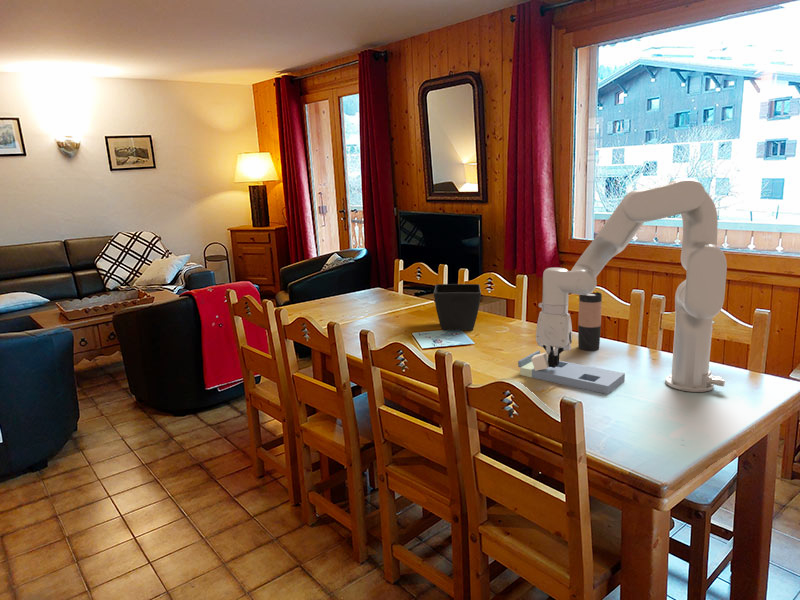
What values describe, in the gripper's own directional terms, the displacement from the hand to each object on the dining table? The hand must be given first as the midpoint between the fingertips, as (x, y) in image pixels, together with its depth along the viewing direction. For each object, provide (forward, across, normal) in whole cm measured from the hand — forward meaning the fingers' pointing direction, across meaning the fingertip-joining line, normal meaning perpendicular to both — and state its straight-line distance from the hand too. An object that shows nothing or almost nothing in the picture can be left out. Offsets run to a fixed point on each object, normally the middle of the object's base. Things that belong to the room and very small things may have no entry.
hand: (553, 366), depth 175 cm
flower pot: (+4, -59, +33) cm, 68 cm away
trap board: (+4, +5, +3) cm, 7 cm away
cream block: (+1, -3, -2) cm, 3 cm away
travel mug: (+4, -3, +35) cm, 35 cm away
